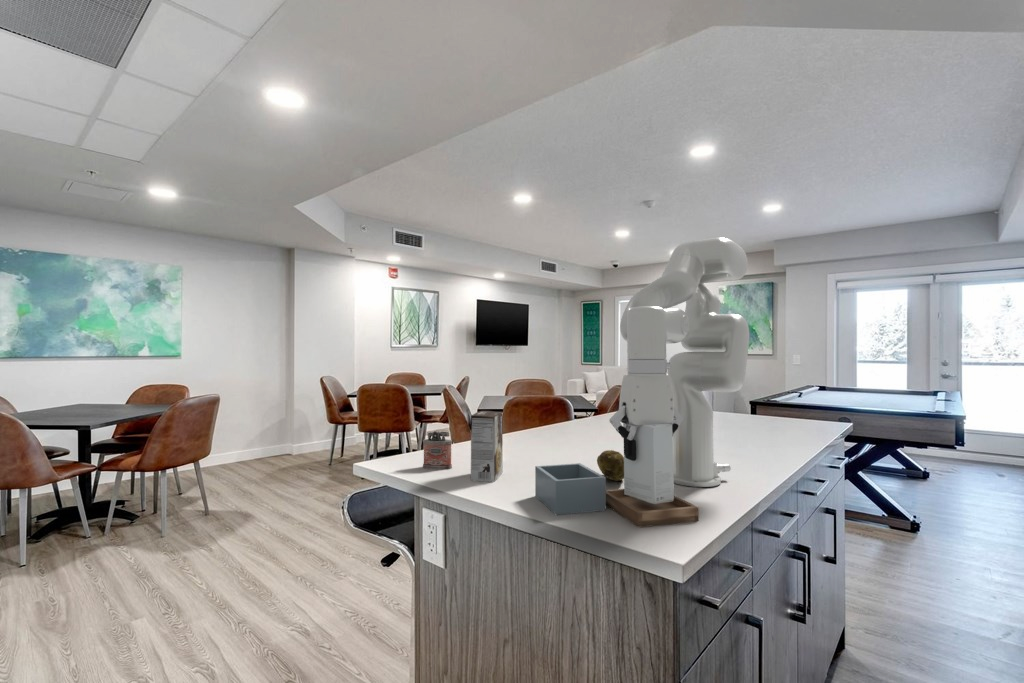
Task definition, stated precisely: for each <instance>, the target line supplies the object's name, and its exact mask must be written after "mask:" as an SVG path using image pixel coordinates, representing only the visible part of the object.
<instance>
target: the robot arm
mask: <svg viewBox="0 0 1024 683" xmlns="http://www.w3.org/2000/svg"><path fill="white" fill-rule="evenodd" d="M748 260H749V259H748V256H747V254H746V252H745V250H744V249H743V248H742V246H740V245H739V244H738V243H736V242H735V241H733V240H731V239H729V238H727V237H726V238H725V237H713V238H705V239H700V240H692V241H686V242H683V243H680V244H678V245H677V246H676V247H675V248H674V250H673V251H672V253H671V256H670V257H669V259H668V262H667V263H666V266H665V268H664V270H663V272H662V274H661V276H660V277H659V278H656V279H655V280H653V281H652V282H651V283H649V284H647V285H645V286H644V287H643V288H641V289H640V290H639V291H637V292H636V293H635V294H634V295H632V296H631V298H630V299H629V301H628V303H627V305H626V307H625V308H624V311H623V312H622V315H621V318H620V323H619V324H620V325H619V326H620V327H619V329H620V334H621V337H622V338H623V339H624V340H625V341H626V346H627V348H626V353H627V365H626V366H627V373H626V374H623V376H622V380H621V384H620V385H621V386H620V393H619V405H618V410H617V411H616V412H615V413H614V414H613V415H612V416H611V417H610V418H609V423H610V424H611V425H612V426H613V428H614V429H615V431H616V432H617V433H618V434H619V435H620V436H621V438H623V455H624V454H625V457H626V458H627V459H629V460H632V461H635V460H636V441H635V440H633V438H634V435H635V433H636V431H637V428H638V426H643V425H649V424H671V425H672V438H673V477H674V484H676V485H680V486H687V487H693V488H694V487H695V488H697V487H698V488H706V487H707V488H709V487H710V488H711V487H717V486H718V485H720V484H721V483H722V479H721V477H720V476H719V475H718V474H720V473H727V472H728V473H729V472H731V470H732V466H731V465H730V464H729V463H721V464H719V463H718V462H716V461H715V460H714V459H715V457H714V456H715V455H714V452H715V451H714V450H715V449H714V446H715V445H714V410H713V406H712V404H711V402H710V401H709V399H708V398H707V397H706V396H705V394H704V393H703V392H716V393H719V392H720V393H734V392H739V391H740V390H741V389H742V387H743V386H744V383H745V378H746V373H747V372H746V371H747V365H748V364H747V362H748V354H749V347H750V346H749V345H750V328H749V324H748V321H747V319H746V318H745V317H744V316H742V315H740V314H737V313H736V314H735V313H722V314H721V307H722V306H721V300H720V298H719V297H718V296H717V294H716V293H715V292H713V291H712V290H711V289H710V288H709V287H707V286H706V285H705V284H707V283H718V282H719V283H720V282H729V281H730V282H731V281H738V280H741V279H742V278H744V277H745V275H746V273H747V271H748V267H749V265H748V264H749V262H748ZM682 303H686V304H685V309H684V310H682V309H681V308H677V307H675V306H678V305H680V304H682ZM677 343H681V346H682V347H683V349H685V350H686V351H682V352H677V353H676V354H674V355H673V356H671V357H670V358H669V360H667V345H668V344H677ZM623 423H625V426H624V427H623Z"/></svg>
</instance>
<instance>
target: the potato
mask: <svg viewBox="0 0 1024 683" xmlns="http://www.w3.org/2000/svg"><path fill="white" fill-rule="evenodd" d="M596 462H597V467H598V468H599V470H600V472H601V474H603V476H604V477H606V479H609V480H611V481H615V482H619V481H620V482H621V481H622V480H624V454H622V453H621V452H619V451H616V450H612V449H611V450H610V449H609V450H608V449H607V450H604V451H602V452H601V453H600V455H598V457H597V459H596Z"/></svg>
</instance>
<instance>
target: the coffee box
mask: <svg viewBox="0 0 1024 683" xmlns="http://www.w3.org/2000/svg"><path fill="white" fill-rule="evenodd" d="M503 444H504V443H503V411H493V410H480V411H477V412H475V413H473V414H472V415H470V481H473V482H487V483H490V482H491V483H495V482H496V481H498V479H499V477H500V476H501V475H502V474H503V472H504V470H503V467H504V466H503V465H504V464H503Z"/></svg>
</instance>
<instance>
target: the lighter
mask: <svg viewBox="0 0 1024 683" xmlns="http://www.w3.org/2000/svg"><path fill="white" fill-rule="evenodd" d="M450 435H451V434H450V432H449V431H445V430H443V431H439V430H433V431H427V438H426V439H425V438H424V439H423V440H422V443H423V463H422V468H423V469H428V470H451V469H452V468H453V465H452V444H453V440H452V439H446V437H447V438H449V437H450Z"/></svg>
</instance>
